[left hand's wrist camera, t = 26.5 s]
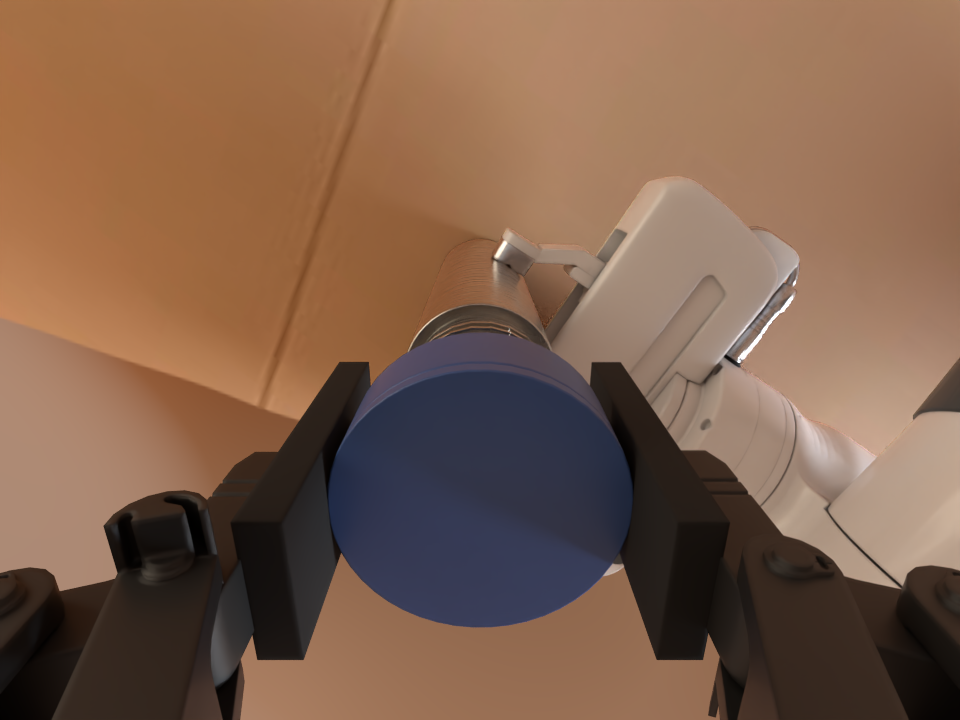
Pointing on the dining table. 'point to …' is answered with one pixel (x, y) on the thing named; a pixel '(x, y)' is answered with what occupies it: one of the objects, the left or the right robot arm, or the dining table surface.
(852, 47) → the dining table surface
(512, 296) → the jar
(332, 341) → the dining table surface
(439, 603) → the lid
